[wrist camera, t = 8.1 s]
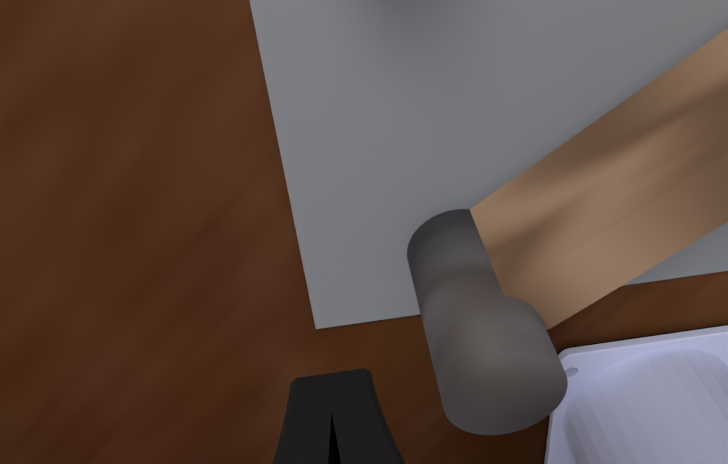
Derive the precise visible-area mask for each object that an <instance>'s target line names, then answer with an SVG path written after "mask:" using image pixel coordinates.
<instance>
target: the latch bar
mask: <svg viewBox="0 0 728 464" xmlns="http://www.w3.org/2000/svg"><path fill="white" fill-rule="evenodd" d="M727 222H728V28H727V29H726V30H724V31H723V32H721V33H720V34H719V35H717V36H716V37H714V38H713V39H711V40H710V41H709V42H707V43H706V44H704V45H703V46H702V47H700V48H699V49H697V50H696V51H694V52H693V53H692V54H690V55H689V56H687V57H686V58H684V59H683V60H682V61H680V62H679V63H677V64H676V65H674V66H673V67H672V68H670V69H669V70H667V71H666V72H664V73H663V74H662V75H660V76H659V77H657V78H656V79H655V80H653V81H652V82H650V83H649V84H647V85H646V86H645V87H643V88H642V89H640V90H639V91H637V92H636V93H635V94H633V95H632V96H630V97H629V98H627V99H626V100H625V101H623V102H622V103H620V104H619V105H618V106H616V107H615V108H613V109H612V110H610V111H609V112H608V113H606V114H605V115H603V116H602V117H600V118H599V119H598V120H596V121H595V122H593V123H592V124H590V125H589V126H588V127H586V128H585V129H583V130H582V131H581V132H579V133H578V134H576V135H575V136H573V137H572V138H571V139H569V140H568V141H566V142H565V143H563V144H562V145H561V146H559V147H558V148H556V149H555V150H553V151H552V152H551V153H549V154H548V155H546V156H545V157H543V158H542V159H541V160H539V161H538V162H536V163H535V164H534V165H532V166H531V167H529V168H528V169H526V170H525V171H524V172H522V173H521V174H519V175H518V176H516V177H515V178H514V179H512V180H511V181H509V182H508V183H506V184H505V185H504V186H502V187H501V188H499V189H498V190H497V191H495V192H494V193H492V194H491V195H489V196H488V197H487V198H485V199H484V200H482V201H481V202H479V203H478V204H477V205H475V206H474V207H472V208H471V209H457V210H450V211H446V212H443V213H440V214H438V215H436V216H434V217H432V218H430V219H429V220H427V221H426V222H424V223H423V224H422V225H421V226H420V227H419V228H418V229H417V230H416V231H415V233H414V234H413V236H412V237H411V239H410V242H409V244H408V248H407V260H408V264H409V268H410V272H411V277H412V281H413V285H414V289H415V293H416V297H417V301H418V306H419V310H420V314H421V318H422V322H423V326H424V330H425V335H426V339H427V343H428V347H429V351H430V355H431V359H432V364H433V368H434V372H435V376H436V380H437V384H438V388H439V393H440V397H441V401H442V405H443V409H444V413H445V415H446V417H447V418H448V420H449V421H450V422H451V423H452V424H453V425H455V426H456V427H458V428H459V429H462V430H464V431H466V432H470V433H474V434H480V435H501V434H507V433H512V432H516V431H519V430H522V429H525V428H527V427H530V426H532V425H534V424H536V423H538V422H540V421H541V420H543V419H544V418H546V417H547V416H548V415H550V414H551V413H552V412H553V411H554V410H555V409H556V408H557V407H558V406H559V405H560V403H561V402H562V400H563V398H564V396H565V394H566V391H567V386H568V380H567V376H566V373H565V371H564V368H563V366H562V364H561V362H560V359H559V357H558V355H557V353H556V351H555V348H554V346H553V344H552V342H551V339H550V337H549V335H548V333H547V330H549V329H551V328H552V327H554V326H555V325H557V324H559V323H560V322H562V321H564V320H565V319H567V318H569V317H570V316H572V315H574V314H575V313H577V312H579V311H580V310H582V309H584V308H585V307H587V306H589V305H590V304H592V303H594V302H595V301H597V300H599V299H600V298H602V297H604V296H605V295H607V294H609V293H610V292H612V291H614V290H615V289H617V288H619V287H620V286H622V285H624V284H625V283H627V282H629V281H630V280H632V279H634V278H635V277H637V276H639V275H640V274H642V273H644V272H645V271H647V270H649V269H650V268H652V267H654V266H655V265H657V264H659V263H660V262H662V261H664V260H665V259H667V258H669V257H670V256H672V255H674V254H675V253H677V252H679V251H680V250H682V249H684V248H685V247H687V246H689V245H690V244H692V243H694V242H695V241H697V240H699V239H700V238H702V237H704V236H705V235H707V234H709V233H710V232H712V231H714V230H715V229H717V228H719V227H720V226H722V225H724V224H725V223H727Z"/></svg>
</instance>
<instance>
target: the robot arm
mask: <svg viewBox="0 0 728 464" xmlns="http://www.w3.org/2000/svg"><path fill="white" fill-rule="evenodd" d="M558 357H559V359H560V362H561V364H562V366H563V368H564V371H565V373H566V376H567V380H568V386H567V391H566V394H565V396H564V398H563V400H562V402H561V403H560V405H559V406H558V407H557V408H556V409H555V410H554V411H553V412H552V413H551V414H550V420H549V428H548V437H547V445H546V454H545V462H544V464H728V325H726V326H719V327H712V328H705V329H698V330H691V331H684V332H677V333H670V334H664V335H657V336H650V337H643V338H636V339H629V340H622V341H615V342H608V343H601V344H594V345H587V346H580V347H573V348H568V349H565V350H563V351H562V352H561V353H560V354H559V355H558ZM272 464H405V463H404V461H403V459H402V457H401V455H400V453H399V451H398V448H397V446H396V444H395V442H394V440H393V437H392V435H391V433H390V430H389V428H388V425H387V423H386V420H385V418H384V416H383V413H382V410H381V407H380V405H379V402H378V398H377V395H376V392H375V388H374V385H373V380H372V375H371V372H370V371H368V370H366V369H357V370H350V371H343V372H336V373H329V374H322V375H315V376H308V377H301V378H296V379H295V380H294V381H293V382H292V383H291V384H290V392H289V399H288V404H287V409H286V414H285V419H284V423H283V427H282V431H281V435H280V439H279V443H278V446H277V450H276V454H275V457H274V460H273V463H272Z"/></svg>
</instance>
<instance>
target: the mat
mask: <svg viewBox="0 0 728 464" xmlns="http://www.w3.org/2000/svg"><path fill="white" fill-rule="evenodd" d="M250 5H251V10H252V15H253V20H254V25H255V29H256V34H257V39H258V44H259V49H260V54H261V59H262V64H263V69H264V74H265V79H266V84H267V89H268V94H269V99H270V104H271V109H272V114H273V119H274V124H275V129H276V134H277V139H278V143H279V148H280V153H281V158H282V163H283V168H284V173H285V178H286V183H287V188H288V193H289V198H290V203H291V208H292V213H293V218H294V223H295V228H296V233H297V238H298V243H299V248H300V252H301V257H302V262H303V267H304V272H305V277H306V282H307V287H308V292H309V297H310V302H311V307H312V312H313V317H314V322H315V327H316V329H320V328H327V327H334V326H341V325H348V324H355V323H362V322H369V321H376V320H383V319H391V318H398V317H405V316H412V315H419V314H420V310H419V306H418V301H417V297H416V293H415V289H414V285H413V281H412V277H411V272H410V268H409V264H408V260H407V248H408V244H409V242H410V239H411V237H412V236H413V234H414V233H415V231H416V230H417V229H418V228H419V227H420V226H421V225H422V224H423V223H424V222H426V221H427V220H429V219H430V218H432V217H434V216H436V215H438V214H440V213H443V212H446V211H450V210H457V209H471V208H472V207H474V206H475V205H477V204H478V203H479V202H481V201H482V200H484V199H485V198H487V197H488V196H489V195H491V194H492V193H494V192H495V191H497V190H498V189H499V188H501V187H502V186H504V185H505V184H506V183H508V182H509V181H511V180H512V179H514V178H515V177H516V176H518V175H519V174H521V173H522V172H524V171H525V170H526V169H528V168H529V167H531V166H532V165H534V164H535V163H536V162H538V161H539V160H541V159H542V158H543V157H545V156H546V155H548V154H549V153H551V152H552V151H553V150H555V149H556V148H558V147H559V146H561V145H562V144H563V143H565V142H566V141H568V140H569V139H571V138H572V137H573V136H575V135H576V134H578V133H579V132H581V131H582V130H583V129H585V128H586V127H588V126H589V125H590V124H592V123H593V122H595V121H596V120H598V119H599V118H600V117H602V116H603V115H605V114H606V113H608V112H609V111H610V110H612V109H613V108H615V107H616V106H618V105H619V104H620V103H622V102H623V101H625V100H626V99H627V98H629V97H630V96H632V95H633V94H635V93H636V92H637V91H639V90H640V89H642V88H643V87H645V86H646V85H647V84H649V83H650V82H652V81H653V80H655V79H656V78H657V77H659V76H660V75H662V74H663V73H664V72H666V71H667V70H669V69H670V68H672V67H673V66H674V65H676V64H677V63H679V62H680V61H682V60H683V59H684V58H686V57H687V56H689V55H690V54H692V53H693V52H694V51H696V50H697V49H699V48H700V47H702V46H703V45H704V44H706V43H707V42H709V41H710V40H711V39H713V38H714V37H716V36H717V35H719V34H720V33H721V32H723V31H724V30H726V29H727V28H728V0H250ZM722 271H728V222H727V223H725V224H724V225H722V226H720V227H719V228H717V229H715V230H714V231H712V232H710V233H709V234H707V235H705V236H704V237H702V238H700V239H699V240H697V241H695V242H694V243H692V244H690V245H689V246H687V247H685V248H684V249H682V250H680V251H679V252H677V253H675V254H674V255H672V256H670V257H669V258H667V259H665V260H664V261H662V262H660V263H659V264H657V265H655V266H654V267H652V268H650V269H649V270H647V271H645V272H644V273H642V274H640V275H639V276H637V277H635V278H634V279H632V280H630V281H629V282H627V283H625V284H624V285H630V284H637V283H644V282H651V281H658V280H665V279H673V278H680V277H687V276H694V275H701V274H708V273H715V272H722ZM622 286H623V285H622Z"/></svg>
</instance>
